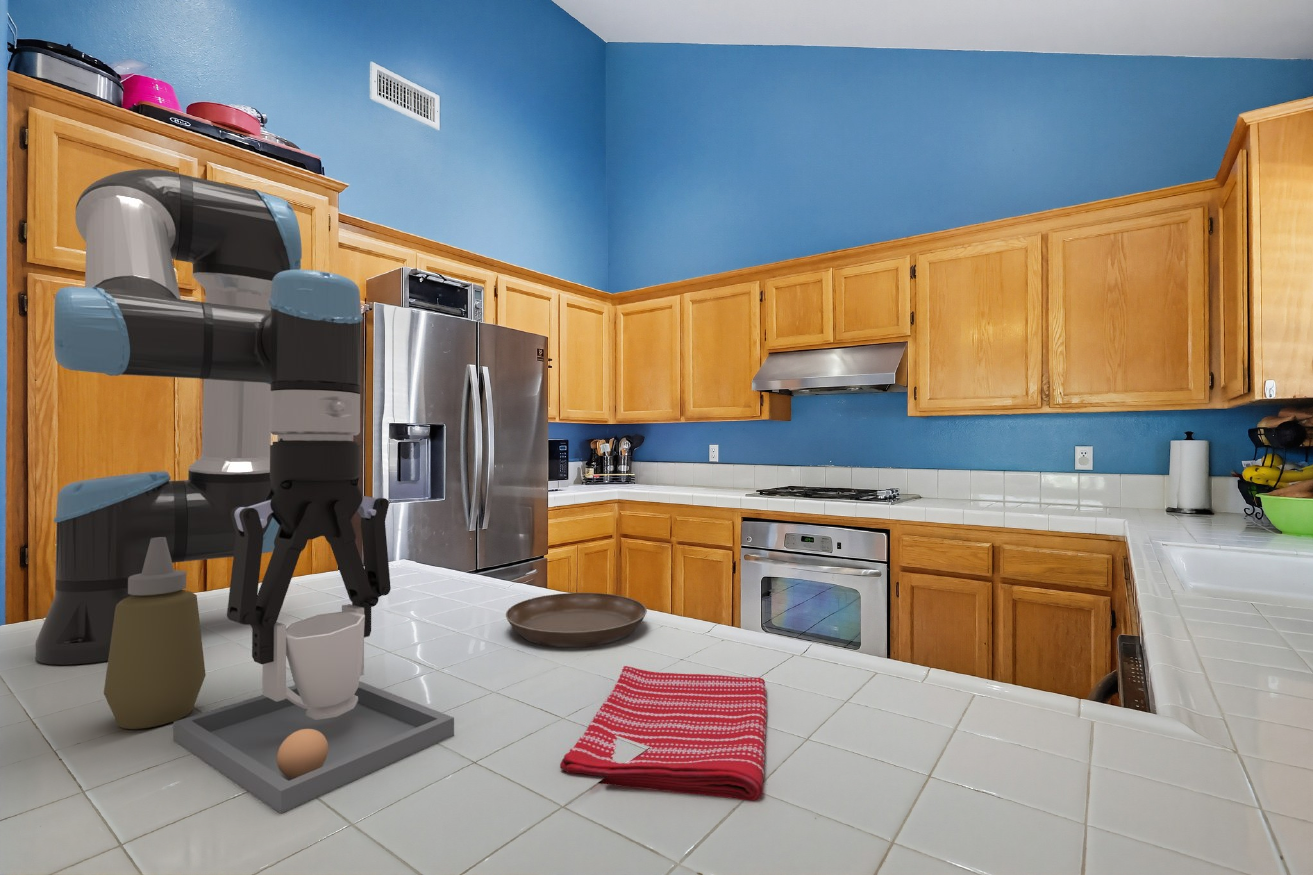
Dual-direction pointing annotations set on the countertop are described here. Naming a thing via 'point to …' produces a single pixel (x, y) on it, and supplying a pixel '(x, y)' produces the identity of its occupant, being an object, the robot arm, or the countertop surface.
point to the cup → (325, 662)
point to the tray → (356, 738)
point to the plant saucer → (576, 619)
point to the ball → (302, 753)
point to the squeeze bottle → (155, 646)
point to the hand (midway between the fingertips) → (315, 683)
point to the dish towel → (679, 734)
